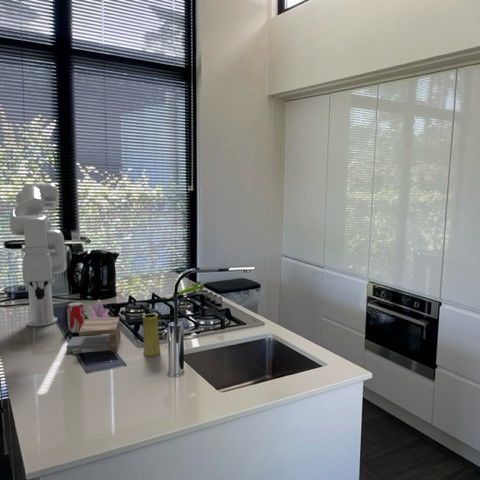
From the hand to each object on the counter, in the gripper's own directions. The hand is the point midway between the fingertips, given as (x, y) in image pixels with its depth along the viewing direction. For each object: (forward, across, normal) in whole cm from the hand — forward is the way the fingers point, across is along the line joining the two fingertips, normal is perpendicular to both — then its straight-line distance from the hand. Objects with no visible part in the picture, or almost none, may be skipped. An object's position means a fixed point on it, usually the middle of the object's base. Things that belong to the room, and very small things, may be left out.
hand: (40, 298), depth 171 cm
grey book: (+19, +18, -2) cm, 26 cm away
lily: (+20, +17, +27) cm, 38 cm away
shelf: (+19, +20, -2) cm, 28 cm away
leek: (+21, +58, +69) cm, 93 cm away
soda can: (+20, +9, +18) cm, 28 cm away
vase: (+19, +41, -15) cm, 48 cm away
